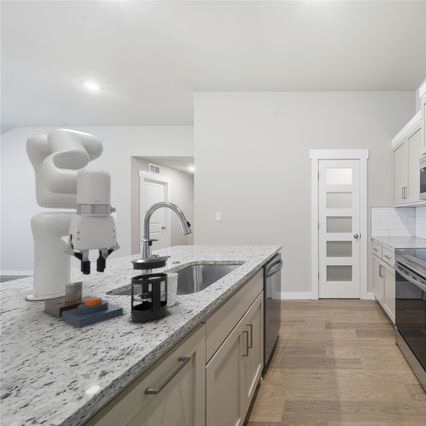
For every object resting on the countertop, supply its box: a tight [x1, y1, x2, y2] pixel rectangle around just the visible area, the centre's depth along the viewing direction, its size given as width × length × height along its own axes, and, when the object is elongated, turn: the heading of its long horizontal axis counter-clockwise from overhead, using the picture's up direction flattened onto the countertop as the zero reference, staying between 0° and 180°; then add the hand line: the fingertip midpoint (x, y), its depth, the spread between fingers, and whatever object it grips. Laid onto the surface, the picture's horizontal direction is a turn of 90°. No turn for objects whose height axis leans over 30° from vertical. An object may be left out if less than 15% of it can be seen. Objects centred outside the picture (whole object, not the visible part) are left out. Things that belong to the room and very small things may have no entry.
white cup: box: [151, 272, 179, 308], centre depth 85 cm, size 8×8×10 cm
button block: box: [61, 299, 124, 329], centre depth 75 cm, size 12×10×4 cm
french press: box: [129, 238, 169, 324], centre depth 74 cm, size 12×9×23 cm
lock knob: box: [64, 281, 83, 302], centre depth 81 cm, size 4×4×5 cm
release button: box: [85, 296, 102, 306], centre depth 75 cm, size 4×4×2 cm
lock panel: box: [44, 292, 103, 319], centre depth 81 cm, size 12×10×3 cm
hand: (93, 272), depth 75 cm, fingers closed
